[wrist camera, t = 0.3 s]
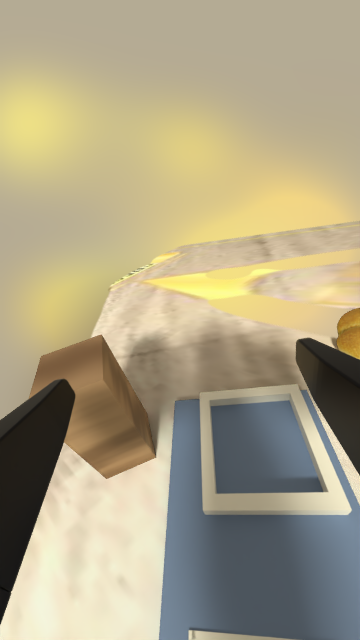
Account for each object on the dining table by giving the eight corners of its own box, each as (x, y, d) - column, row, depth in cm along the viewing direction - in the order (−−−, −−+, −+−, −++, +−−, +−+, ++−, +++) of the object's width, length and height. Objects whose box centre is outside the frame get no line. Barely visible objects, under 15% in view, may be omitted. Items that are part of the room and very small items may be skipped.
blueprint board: (724, 1332, 5) (867, 1552, 4) (136, 1074, 7) (112, 1164, 6) (305, 394, 24) (307, 382, 23) (176, 404, 26) (172, 394, 25)
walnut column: (155, 457, 22) (103, 379, 15) (106, 479, 22) (25, 408, 14) (146, 413, 26) (101, 334, 19) (105, 430, 26) (41, 356, 18)
